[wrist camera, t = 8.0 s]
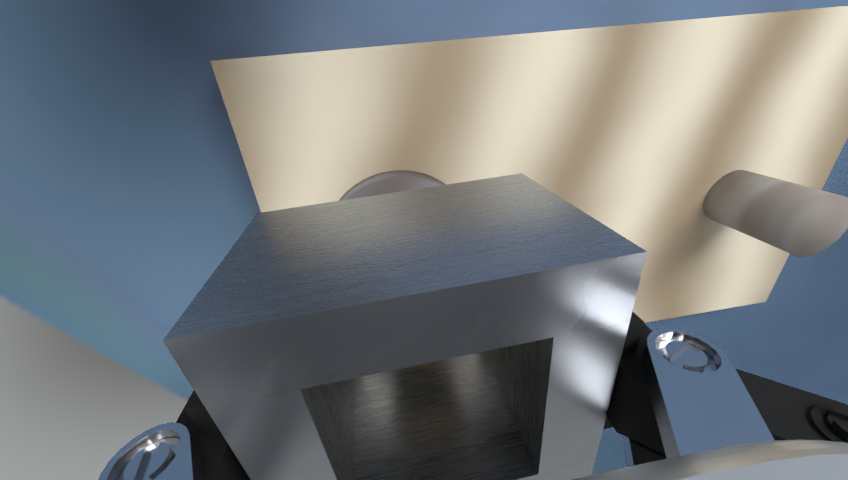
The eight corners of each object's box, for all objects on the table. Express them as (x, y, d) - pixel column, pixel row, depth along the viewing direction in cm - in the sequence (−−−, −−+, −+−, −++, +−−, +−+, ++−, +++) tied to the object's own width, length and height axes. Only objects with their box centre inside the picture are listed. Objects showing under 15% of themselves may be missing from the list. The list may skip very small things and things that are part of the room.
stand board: (872, 5, 13) (1276, -48, 7) (744, 289, 20) (904, 382, 14) (225, 61, 11) (57, 50, 5) (320, 360, 17) (295, 508, 12)
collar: (522, 173, 9) (646, 251, 5) (514, 356, 12) (587, 491, 8) (257, 213, 8) (163, 340, 4) (324, 396, 12) (304, 565, 8)
